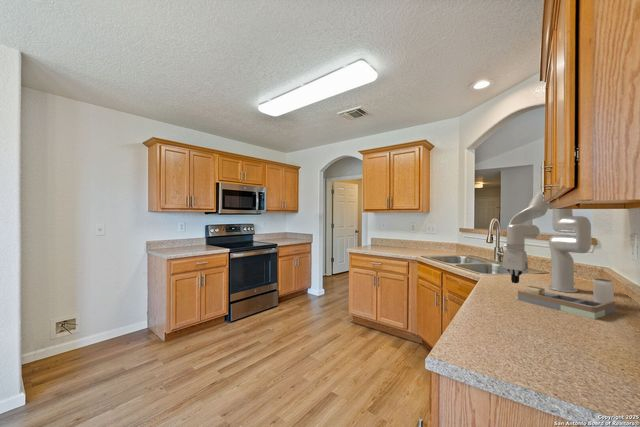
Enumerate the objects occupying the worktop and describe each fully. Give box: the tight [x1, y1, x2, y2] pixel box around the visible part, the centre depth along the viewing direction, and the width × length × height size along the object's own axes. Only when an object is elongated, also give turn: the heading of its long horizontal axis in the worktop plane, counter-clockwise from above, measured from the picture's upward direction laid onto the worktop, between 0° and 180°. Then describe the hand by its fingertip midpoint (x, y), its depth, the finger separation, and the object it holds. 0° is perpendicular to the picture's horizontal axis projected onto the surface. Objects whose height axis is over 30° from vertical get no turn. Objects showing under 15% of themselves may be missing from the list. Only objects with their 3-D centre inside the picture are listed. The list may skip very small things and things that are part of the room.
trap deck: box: [517, 290, 616, 320], centre depth 124 cm, size 20×28×4 cm
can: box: [592, 278, 615, 304], centre depth 124 cm, size 6×6×12 cm
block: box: [523, 285, 546, 296], centre depth 130 cm, size 6×6×4 cm
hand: (515, 282), depth 137 cm, fingers closed
